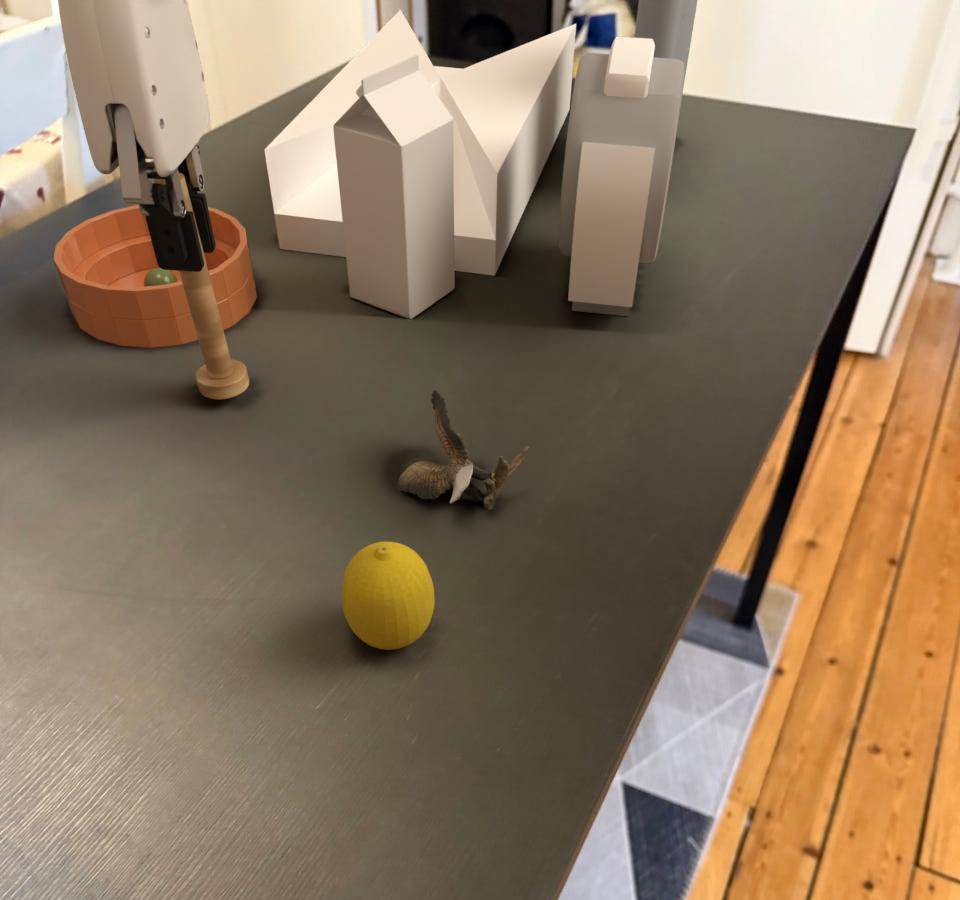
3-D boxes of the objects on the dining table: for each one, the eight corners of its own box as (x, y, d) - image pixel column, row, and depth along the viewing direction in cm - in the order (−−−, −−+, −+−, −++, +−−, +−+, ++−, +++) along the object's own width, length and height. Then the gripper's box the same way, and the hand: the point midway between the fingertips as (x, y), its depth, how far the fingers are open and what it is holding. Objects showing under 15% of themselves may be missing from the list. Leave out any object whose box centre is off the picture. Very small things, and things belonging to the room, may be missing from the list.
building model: (494, 275, 89) (497, 173, 82) (279, 248, 92) (264, 148, 85) (569, 109, 118) (576, 23, 111) (404, 93, 121) (400, 8, 114)
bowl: (47, 349, 80) (22, 283, 75) (114, 260, 90) (96, 198, 86) (230, 361, 79) (216, 295, 74) (276, 270, 89) (266, 207, 85)
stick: (190, 397, 72) (127, 188, 60) (210, 369, 75) (154, 163, 63) (238, 402, 72) (184, 192, 60) (256, 374, 74) (208, 167, 62)
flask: (638, 141, 111) (673, -124, 93) (675, 146, 111) (718, -120, 92) (605, 199, 101) (637, -87, 82) (647, 206, 100) (689, -82, 81)
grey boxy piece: (571, 239, 94) (592, 7, 79) (654, 246, 93) (691, 14, 78) (549, 329, 83) (568, 78, 67) (644, 339, 82) (684, 87, 67)
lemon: (334, 663, 57) (319, 570, 51) (367, 601, 60) (357, 507, 54) (418, 684, 56) (413, 592, 50) (447, 620, 59) (446, 527, 53)
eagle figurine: (538, 466, 68) (443, 405, 70) (524, 431, 61) (419, 364, 63) (477, 550, 68) (384, 486, 70) (457, 524, 61) (354, 454, 63)
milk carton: (455, 290, 87) (453, 63, 73) (410, 322, 83) (398, 89, 69) (396, 268, 90) (382, 46, 75) (349, 298, 86) (326, 70, 72)
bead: (131, 279, 81) (147, 310, 83) (160, 276, 80) (175, 308, 82) (147, 262, 83) (162, 294, 85) (175, 259, 82) (190, 291, 84)
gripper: (101, -91, 57) (172, 208, 71) (-15, -21, 47) (95, 313, 61) (218, -87, 57) (267, 213, 71) (128, -16, 46) (206, 320, 60)
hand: (187, 257), depth 66 cm, fingers closed on stick, 2 cm apart
